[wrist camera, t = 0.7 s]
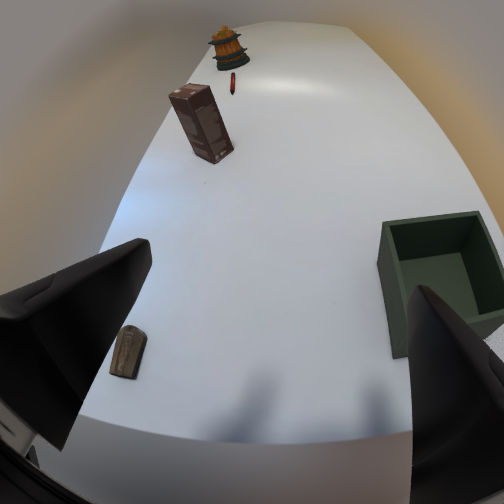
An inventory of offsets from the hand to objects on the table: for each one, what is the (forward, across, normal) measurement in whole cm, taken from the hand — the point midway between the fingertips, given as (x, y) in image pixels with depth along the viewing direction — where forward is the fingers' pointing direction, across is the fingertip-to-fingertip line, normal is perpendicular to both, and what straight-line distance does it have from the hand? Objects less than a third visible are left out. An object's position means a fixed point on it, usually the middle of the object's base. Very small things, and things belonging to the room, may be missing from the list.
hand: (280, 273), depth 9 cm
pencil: (+64, +19, -4) cm, 67 cm away
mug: (+81, +23, -10) cm, 85 cm away
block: (+9, +15, +21) cm, 27 cm away
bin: (+14, -15, +11) cm, 23 cm away
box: (+39, +15, +7) cm, 42 cm away
